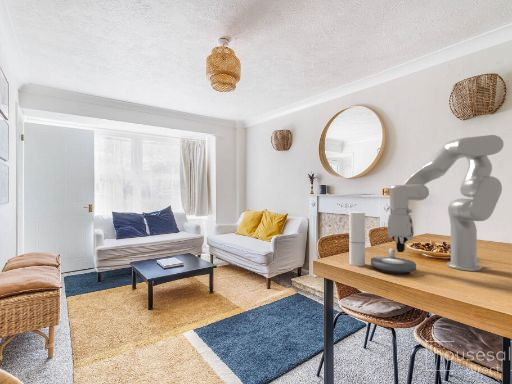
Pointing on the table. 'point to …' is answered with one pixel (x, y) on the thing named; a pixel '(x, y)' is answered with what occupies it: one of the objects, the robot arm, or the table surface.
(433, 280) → the table surface
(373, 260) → the disc
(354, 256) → the cylindrical container
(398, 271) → the turntable base
